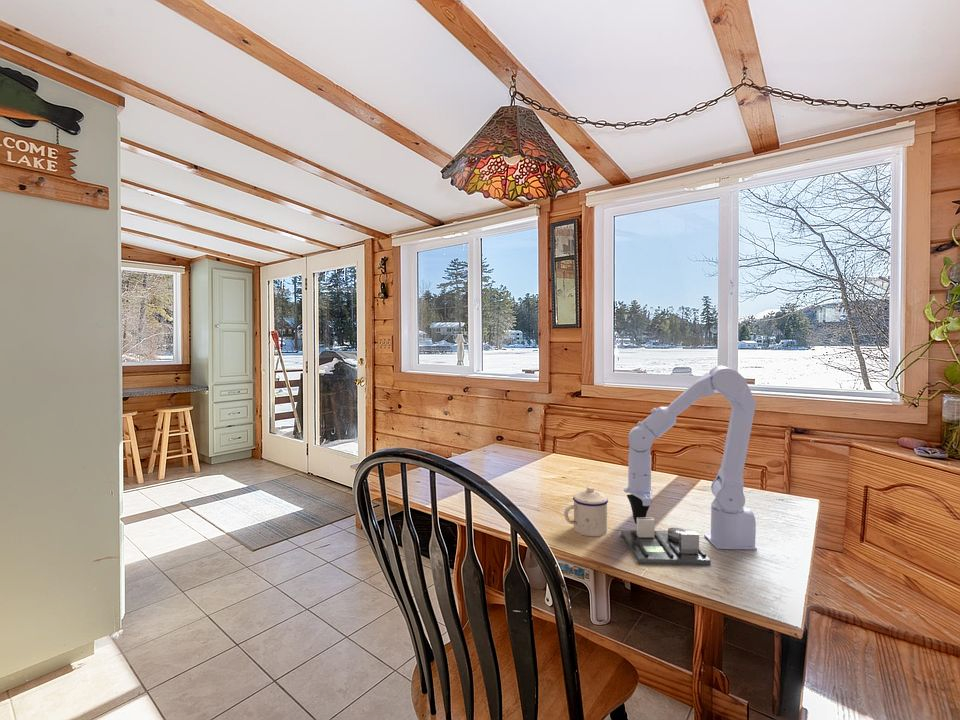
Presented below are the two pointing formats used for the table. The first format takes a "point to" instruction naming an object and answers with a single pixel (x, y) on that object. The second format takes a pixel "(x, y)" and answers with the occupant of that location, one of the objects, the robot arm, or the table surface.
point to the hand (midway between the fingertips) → (639, 523)
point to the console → (666, 547)
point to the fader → (645, 527)
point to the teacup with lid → (589, 513)
